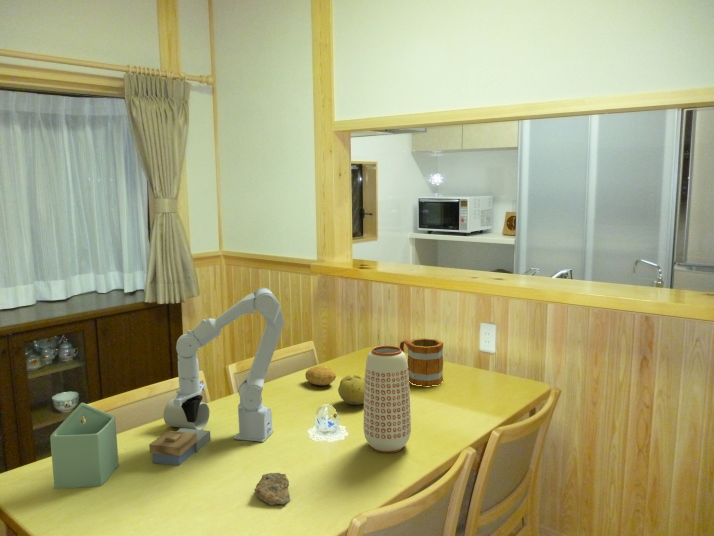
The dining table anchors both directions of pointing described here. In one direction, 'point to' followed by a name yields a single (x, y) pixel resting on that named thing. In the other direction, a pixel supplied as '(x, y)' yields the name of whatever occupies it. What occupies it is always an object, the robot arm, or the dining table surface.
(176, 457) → the blue open tray
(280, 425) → the dining table surface
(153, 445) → the lid
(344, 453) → the dining table surface
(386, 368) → the vase
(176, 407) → the mug
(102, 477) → the planter
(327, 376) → the potato
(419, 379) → the mug
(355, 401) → the fruit
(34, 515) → the dining table surface
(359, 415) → the dining table surface
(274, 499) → the rock
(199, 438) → the stand
